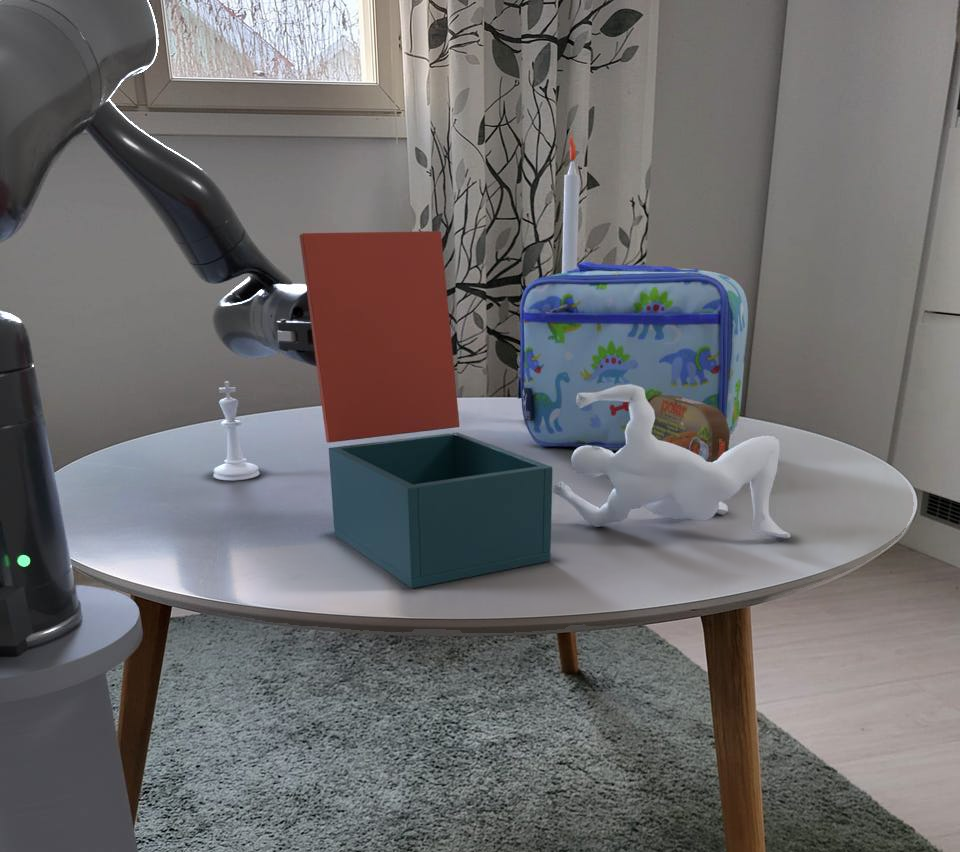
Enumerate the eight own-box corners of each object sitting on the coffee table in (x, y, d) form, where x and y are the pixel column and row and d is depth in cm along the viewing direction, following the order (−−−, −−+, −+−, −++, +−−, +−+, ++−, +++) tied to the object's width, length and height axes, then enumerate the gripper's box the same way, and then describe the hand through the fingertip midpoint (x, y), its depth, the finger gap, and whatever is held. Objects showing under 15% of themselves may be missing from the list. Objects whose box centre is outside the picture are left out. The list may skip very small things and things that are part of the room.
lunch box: (507, 445, 118) (508, 262, 110) (543, 429, 127) (546, 259, 119) (717, 467, 107) (736, 266, 99) (741, 448, 116) (760, 262, 108)
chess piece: (261, 478, 104) (251, 384, 100) (213, 482, 103) (202, 386, 99) (258, 468, 108) (249, 377, 104) (213, 471, 107) (202, 379, 103)
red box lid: (441, 231, 83) (437, 232, 84) (302, 232, 77) (298, 234, 78) (460, 427, 87) (456, 427, 88) (329, 442, 82) (326, 442, 82)
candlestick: (521, 415, 136) (524, 136, 122) (597, 414, 137) (609, 136, 123) (529, 431, 126) (533, 129, 112) (611, 429, 127) (626, 129, 113)
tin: (632, 464, 109) (636, 388, 106) (657, 461, 110) (662, 386, 107) (702, 497, 96) (710, 411, 93) (730, 494, 97) (738, 409, 94)
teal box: (550, 561, 79) (553, 466, 75) (411, 589, 73) (407, 488, 70) (459, 514, 91) (458, 432, 88) (334, 535, 85) (328, 447, 82)
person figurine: (753, 392, 88) (581, 368, 81) (836, 451, 79) (648, 428, 72) (703, 518, 95) (540, 506, 88) (773, 586, 85) (596, 578, 78)
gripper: (240, 287, 93) (303, 298, 79) (367, 282, 99) (446, 291, 85) (248, 367, 96) (310, 391, 82) (371, 358, 102) (447, 378, 88)
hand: (379, 340), depth 84 cm, fingers closed
